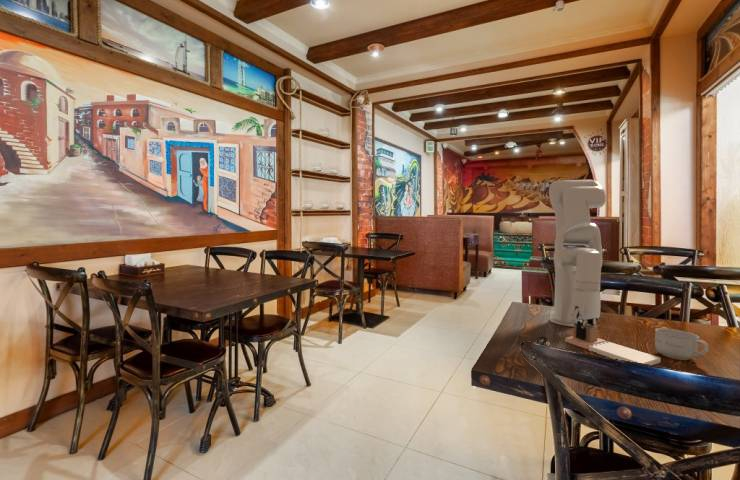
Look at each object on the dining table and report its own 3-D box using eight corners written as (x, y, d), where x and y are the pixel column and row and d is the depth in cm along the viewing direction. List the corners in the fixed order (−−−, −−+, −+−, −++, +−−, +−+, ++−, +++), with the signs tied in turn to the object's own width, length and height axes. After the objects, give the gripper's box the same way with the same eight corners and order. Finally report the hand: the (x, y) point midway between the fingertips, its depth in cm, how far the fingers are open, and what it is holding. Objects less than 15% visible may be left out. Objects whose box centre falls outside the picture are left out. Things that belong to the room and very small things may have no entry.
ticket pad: (607, 345, 126) (607, 340, 126) (660, 362, 111) (660, 357, 111) (588, 350, 121) (588, 345, 121) (641, 368, 107) (641, 363, 107)
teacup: (645, 351, 121) (646, 327, 120) (675, 349, 122) (676, 326, 121) (685, 368, 107) (686, 342, 106) (718, 367, 108) (720, 340, 107)
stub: (583, 337, 133) (584, 320, 133) (605, 344, 126) (606, 326, 126) (565, 341, 129) (565, 323, 129) (586, 349, 122) (587, 330, 121)
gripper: (592, 282, 133) (590, 331, 134) (561, 286, 126) (559, 337, 127) (613, 285, 126) (610, 337, 128) (582, 290, 119) (579, 344, 120)
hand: (585, 337), depth 127 cm, fingers closed on stub, 4 cm apart
